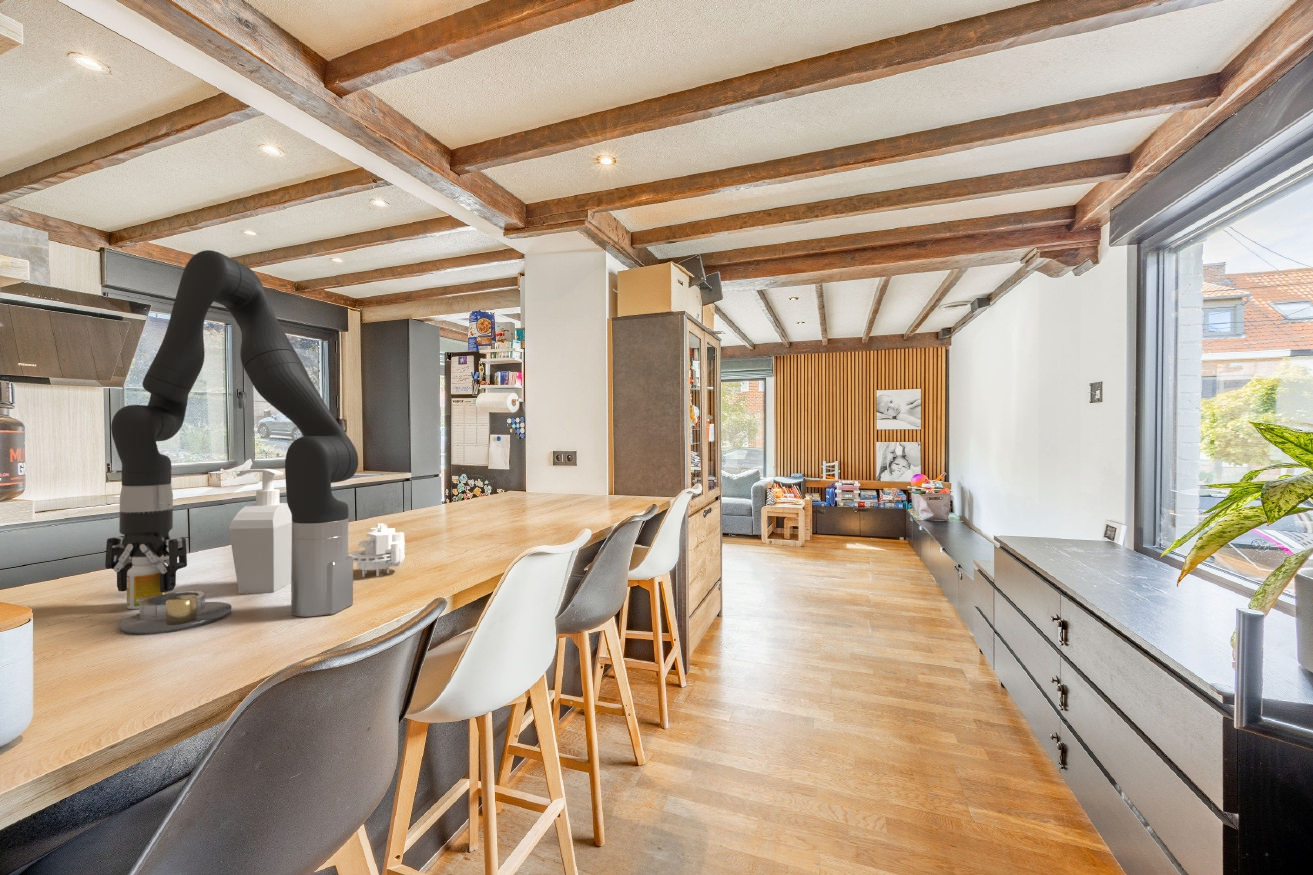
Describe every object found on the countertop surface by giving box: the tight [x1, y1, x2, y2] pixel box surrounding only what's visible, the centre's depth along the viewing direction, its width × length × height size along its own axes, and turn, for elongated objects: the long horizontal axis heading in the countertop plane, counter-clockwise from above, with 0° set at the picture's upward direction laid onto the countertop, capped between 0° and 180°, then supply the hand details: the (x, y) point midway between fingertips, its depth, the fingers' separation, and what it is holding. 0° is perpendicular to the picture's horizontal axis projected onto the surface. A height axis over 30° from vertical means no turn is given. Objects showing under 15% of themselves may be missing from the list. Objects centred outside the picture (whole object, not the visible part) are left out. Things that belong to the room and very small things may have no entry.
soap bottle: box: [228, 468, 292, 594], centre depth 116 cm, size 12×10×26 cm
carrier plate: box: [119, 590, 233, 636], centre depth 96 cm, size 15×15×5 cm
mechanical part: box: [348, 522, 406, 578], centre depth 128 cm, size 11×12×12 cm
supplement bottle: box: [126, 557, 166, 610], centre depth 104 cm, size 5×5×10 cm
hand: (146, 590), depth 104 cm, fingers open, 8 cm apart
